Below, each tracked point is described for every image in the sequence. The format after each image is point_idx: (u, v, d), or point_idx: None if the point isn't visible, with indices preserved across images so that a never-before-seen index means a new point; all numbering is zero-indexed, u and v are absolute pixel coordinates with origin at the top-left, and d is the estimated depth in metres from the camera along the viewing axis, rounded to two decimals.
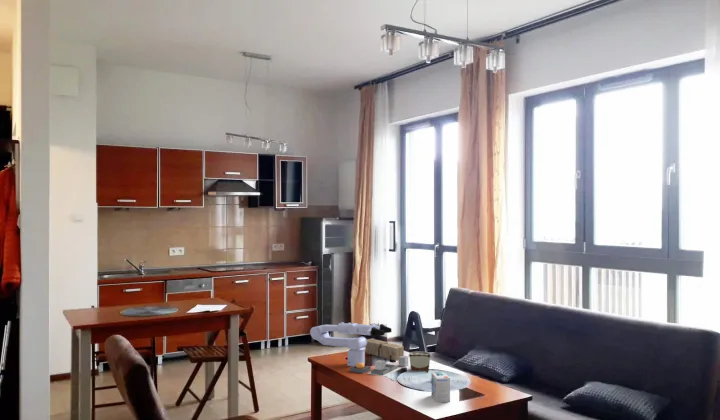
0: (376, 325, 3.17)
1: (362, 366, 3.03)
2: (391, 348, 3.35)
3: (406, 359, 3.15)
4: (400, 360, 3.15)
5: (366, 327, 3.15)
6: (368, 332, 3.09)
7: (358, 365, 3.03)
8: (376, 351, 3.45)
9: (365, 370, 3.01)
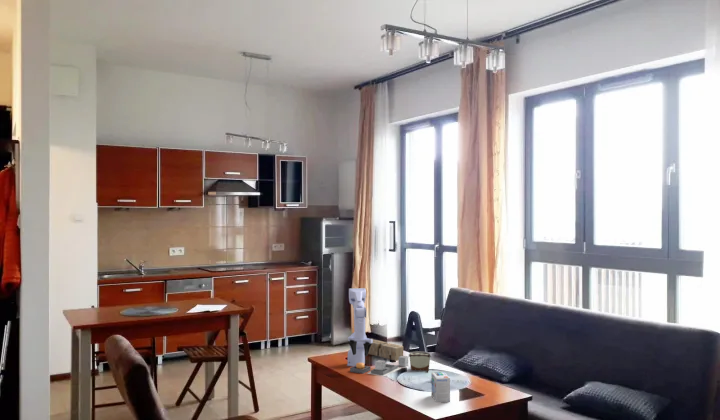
0: (361, 340, 3.02)
1: (362, 366, 3.03)
2: (391, 348, 3.35)
3: (406, 359, 3.15)
4: (400, 360, 3.15)
5: (355, 332, 3.05)
6: None
7: (358, 365, 3.03)
8: (375, 351, 3.44)
9: (365, 370, 3.01)
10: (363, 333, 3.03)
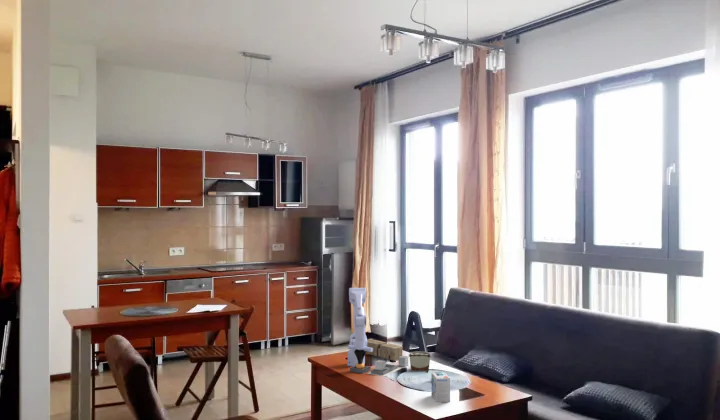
0: (361, 349, 3.02)
1: (362, 366, 3.03)
2: (390, 348, 3.34)
3: (406, 359, 3.15)
4: (400, 360, 3.15)
5: (355, 340, 3.05)
6: None
7: (358, 365, 3.03)
8: (375, 351, 3.44)
9: (365, 370, 3.01)
10: (363, 342, 3.03)
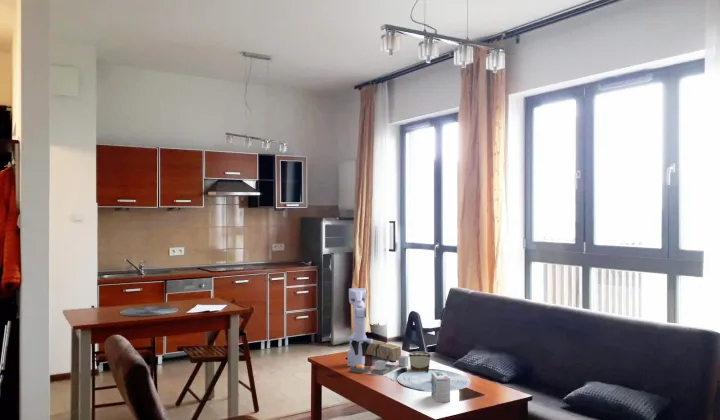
0: (361, 340, 3.02)
1: (362, 368, 3.03)
2: (388, 348, 3.34)
3: (406, 359, 3.15)
4: (400, 360, 3.15)
5: (355, 332, 3.05)
6: None
7: (358, 367, 3.03)
8: (374, 351, 3.44)
9: (365, 370, 3.01)
10: (363, 333, 3.03)
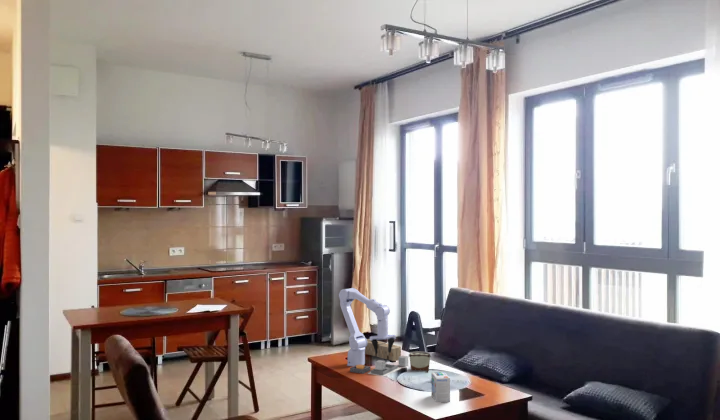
0: (387, 337, 3.09)
1: (362, 368, 3.03)
2: None
3: (406, 359, 3.15)
4: (400, 360, 3.15)
5: (379, 330, 3.08)
6: (370, 339, 3.08)
7: (358, 367, 3.03)
8: (373, 351, 3.44)
9: (365, 370, 3.01)
10: (387, 330, 3.11)
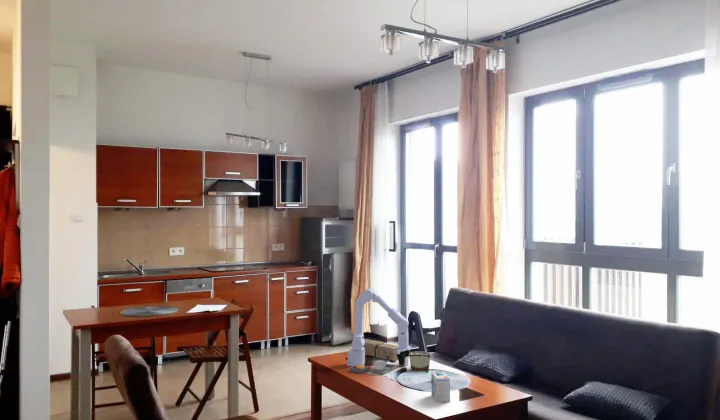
0: None
1: (362, 368, 3.03)
2: (388, 348, 3.34)
3: (406, 359, 3.15)
4: None
5: (404, 343, 3.13)
6: (397, 352, 3.10)
7: (358, 367, 3.03)
8: (372, 352, 3.43)
9: (365, 370, 3.01)
10: None
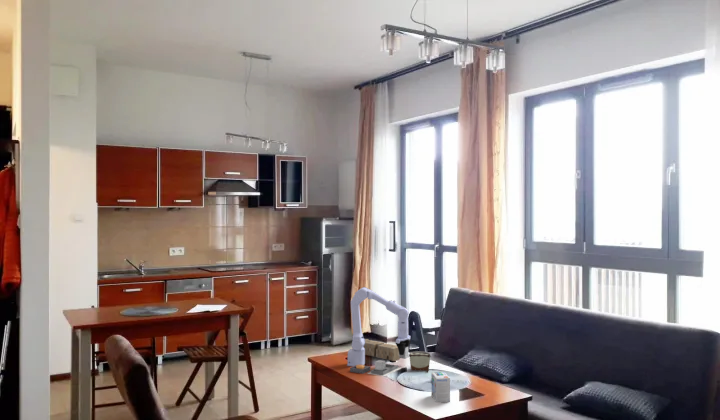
0: (408, 338, 3.17)
1: (362, 368, 3.03)
2: (388, 348, 3.34)
3: (406, 349, 3.15)
4: None
5: (404, 332, 3.13)
6: (397, 342, 3.10)
7: (358, 367, 3.03)
8: (372, 352, 3.43)
9: (365, 370, 3.01)
10: None
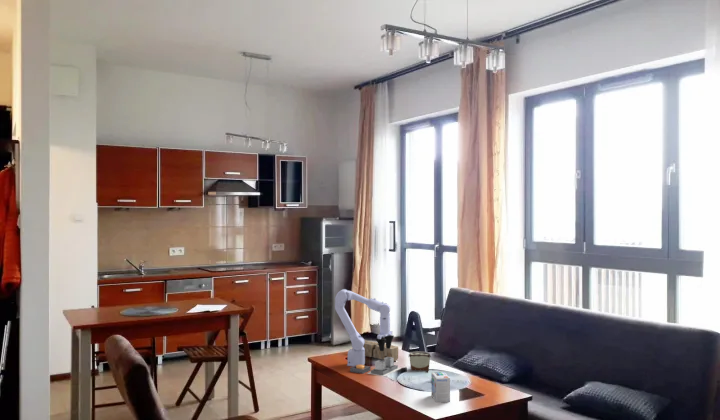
0: (390, 334, 3.19)
1: (362, 368, 3.03)
2: (386, 349, 3.33)
3: (391, 360, 3.08)
4: (385, 361, 3.07)
5: (385, 328, 3.16)
6: (379, 337, 3.12)
7: (358, 367, 3.03)
8: (369, 352, 3.42)
9: (365, 370, 3.01)
10: None
